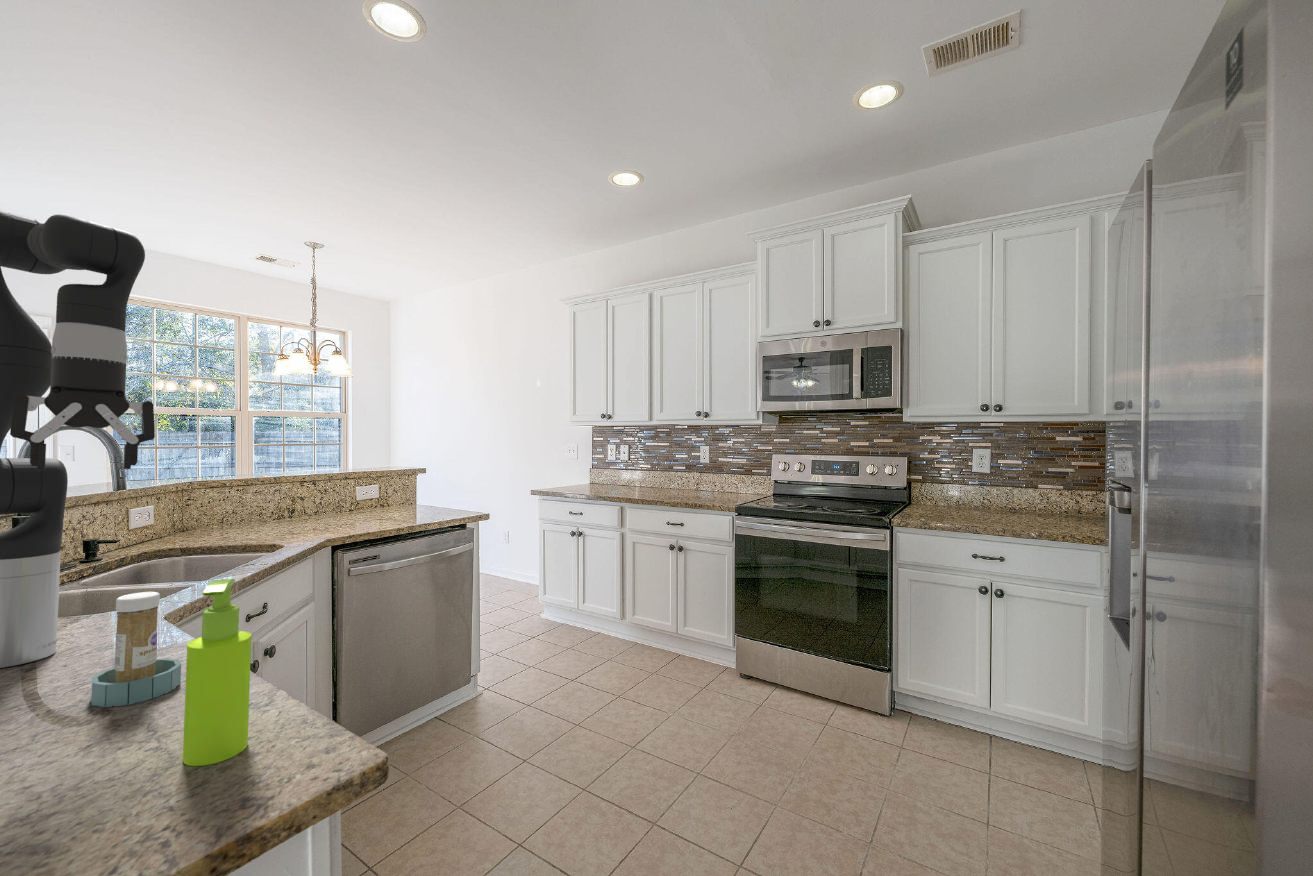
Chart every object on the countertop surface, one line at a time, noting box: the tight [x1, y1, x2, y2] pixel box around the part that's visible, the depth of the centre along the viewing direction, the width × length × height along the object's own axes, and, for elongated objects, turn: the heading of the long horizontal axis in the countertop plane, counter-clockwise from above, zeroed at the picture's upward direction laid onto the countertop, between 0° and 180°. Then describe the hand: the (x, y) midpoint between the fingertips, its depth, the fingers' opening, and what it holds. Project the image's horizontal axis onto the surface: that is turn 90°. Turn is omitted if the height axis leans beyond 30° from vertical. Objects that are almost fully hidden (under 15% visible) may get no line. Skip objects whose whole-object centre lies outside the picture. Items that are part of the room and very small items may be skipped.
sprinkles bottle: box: [114, 591, 161, 683], centre depth 78 cm, size 5×5×14 cm
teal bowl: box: [90, 657, 182, 708], centre depth 78 cm, size 9×9×3 cm
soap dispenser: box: [182, 578, 252, 767], centre depth 63 cm, size 6×7×20 cm
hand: (85, 469), depth 78 cm, fingers open, 8 cm apart
